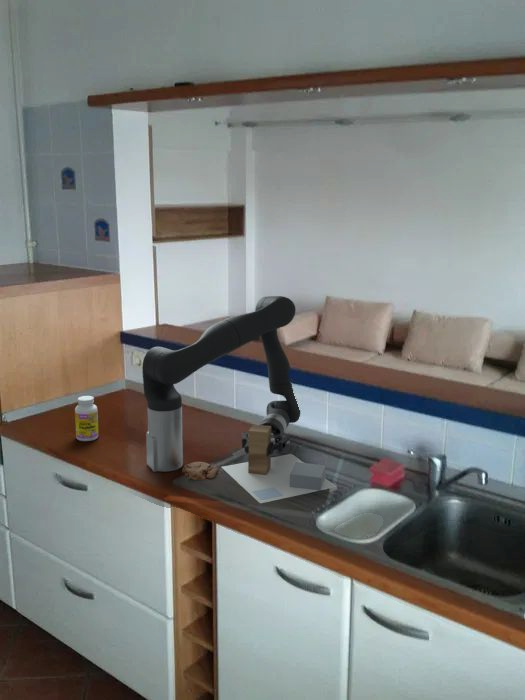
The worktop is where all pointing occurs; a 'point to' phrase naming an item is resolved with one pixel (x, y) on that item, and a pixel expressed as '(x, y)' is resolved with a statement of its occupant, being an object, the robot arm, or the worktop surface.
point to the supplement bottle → (86, 419)
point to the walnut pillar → (259, 449)
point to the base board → (281, 479)
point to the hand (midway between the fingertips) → (257, 451)
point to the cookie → (199, 471)
